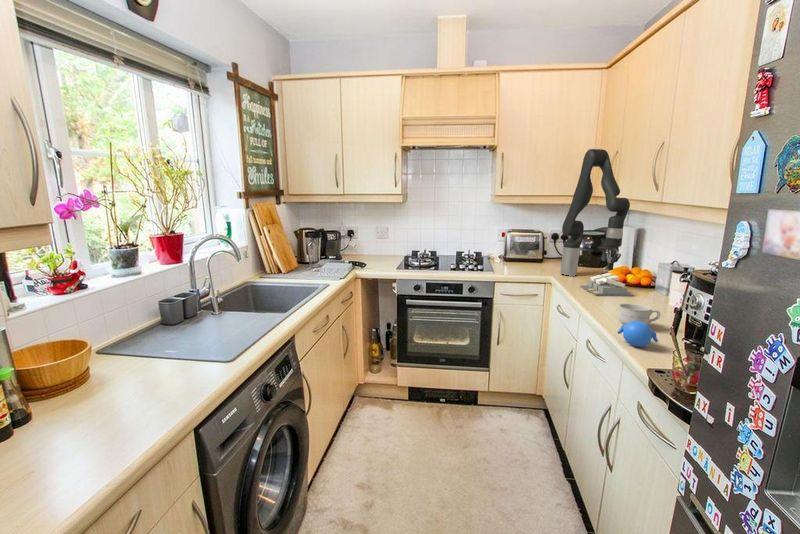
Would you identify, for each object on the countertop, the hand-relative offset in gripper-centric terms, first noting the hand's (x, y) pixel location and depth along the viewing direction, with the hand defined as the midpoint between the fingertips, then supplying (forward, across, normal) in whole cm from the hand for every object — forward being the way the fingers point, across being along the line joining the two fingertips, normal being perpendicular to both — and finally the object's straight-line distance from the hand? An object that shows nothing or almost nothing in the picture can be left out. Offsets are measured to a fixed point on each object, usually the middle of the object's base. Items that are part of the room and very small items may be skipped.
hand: (610, 269), depth 204 cm
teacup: (+11, +57, -19) cm, 61 cm away
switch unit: (+11, +5, -4) cm, 12 cm away
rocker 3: (+5, +11, -4) cm, 12 cm away
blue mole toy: (+12, +74, -30) cm, 81 cm away
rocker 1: (+5, 0, -4) cm, 6 cm away
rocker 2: (+5, +5, -4) cm, 8 cm away
